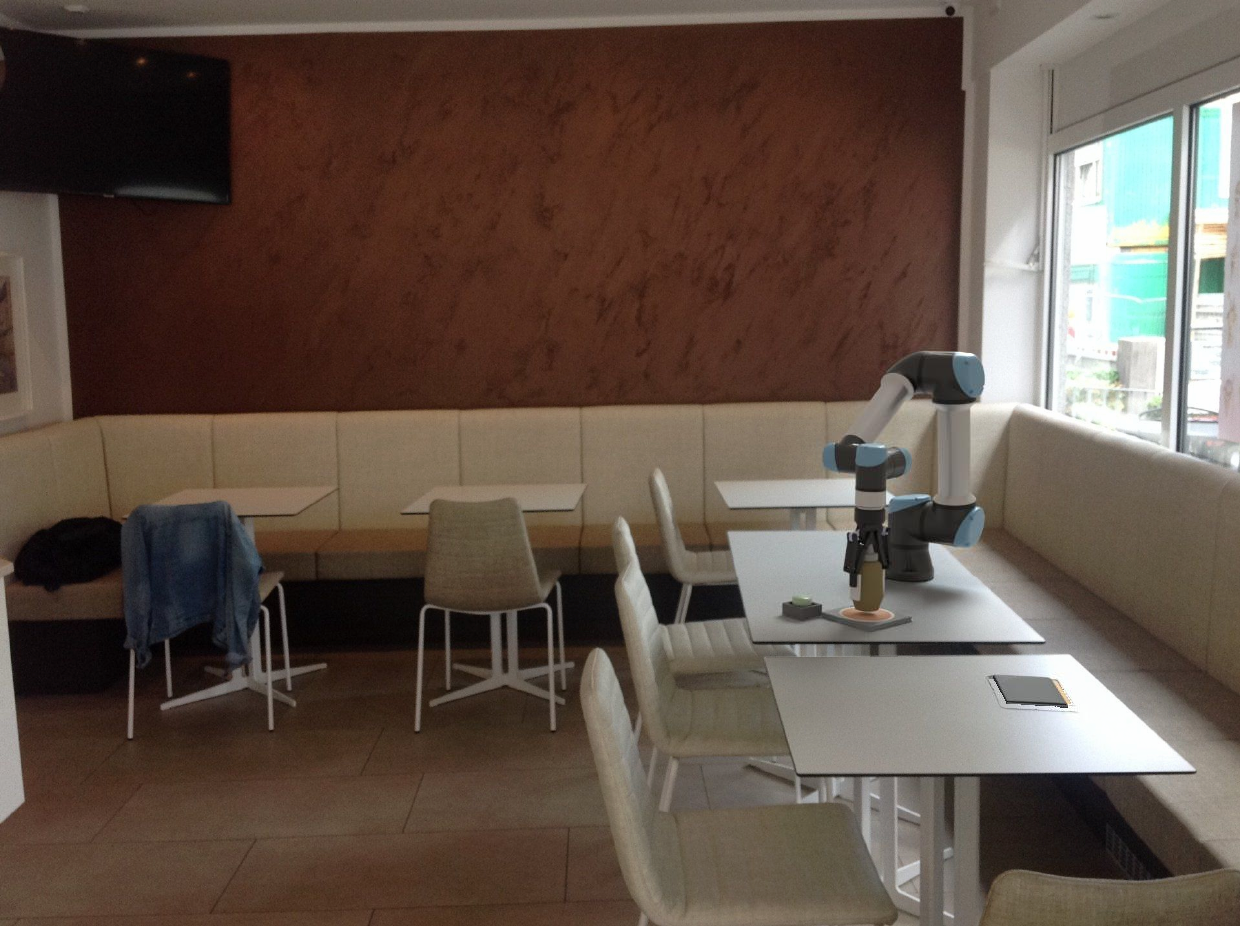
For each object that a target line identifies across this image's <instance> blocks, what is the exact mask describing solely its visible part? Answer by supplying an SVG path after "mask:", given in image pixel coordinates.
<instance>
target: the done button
mask: <svg viewBox="0 0 1240 926" xmlns="http://www.w3.org/2000/svg"><path fill="white" fill-rule="evenodd" d="M791 597H792V598H791V599H792V600H791V601H792V605H795V606H798V607H801V608H804V607H808V606H812V602H813V596H811V595H807V594H796V595H792V596H791Z"/></svg>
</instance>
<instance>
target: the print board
mask: <svg viewBox="0 0 1240 926" xmlns="http://www.w3.org/2000/svg"><path fill="white" fill-rule="evenodd" d="M821 617H822V618H824V619H828V620H831V621H835V622H837V623H841V624H845V625H848V626H850V627H854V628H857V629H861V630H864V631H868V632H874V631H877V630H882V629H885V628H890V627H893V626H899V625H902V624H906V623H909V622H912V618H913V616H912V615H909V614H905V613H904V614H903V613H900V612H897V611H893V610H890V609H886V608H883V607H881V606H880V607H879V610H878V611H874V612H863V611H859V610H856V609H855V607H854V604H852V605H848V606H847V605H846V606H841V607H839V608H835V609H829V610H826V611H822V616H821Z"/></svg>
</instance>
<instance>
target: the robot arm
mask: <svg viewBox="0 0 1240 926" xmlns="http://www.w3.org/2000/svg"><path fill="white" fill-rule="evenodd" d="M985 375H986V374H985V368H984V365H983V363H982V361H981V360H980V358H979V357H978V356H977V355H976V354H974V353H969V352H962V351H937V350H936V351H935V350H934V351H930V350H922V351H916V352H913V353H911V354H909V355H907V356H904V357H903V358H901V359H900V360H898V361H896V363H895V364H893V365H892V366H891V367H889V369H888V370H886V373H885V374H883V377H882V378H881V380H880V387H879V388H878V389H877V391H876V392H875V393H874V395H873V397H872V398H871V399H870V400H869V402H868V403H867V405H866V406H865V407H864V409H863V410H862V412H861V413H860V414H859V416H858V417H857V418H856V420H855V421H854V422H853V424H852V425H851V427H850V428H849V429H848V430H847V432H846V433H845V435H844V437H842V438H841V440H840V441H839V442H838V441H834V442H829V443H827V444H825V446H824V447H823V450H822V452H821V462H822V466H823V467H824V469H826V470H827V471H830V472H834V473H839V474H851V475H855V485H854V487H855V488H854V505H855V507H854V511H853V512H854V516H853V521H854V522H855V523H856V527H855V530H854V531H853V532H849V531H848V532H847V533H846V548H845V554H844V555H845V556H844V561H843V568H842V571H843V572H845V573H847V574H849V579H848V585H849V599H851V600H852V599H853V600H857V601H860V595H861V575H860V574H859V571H860V568H861V564H862V561H863V558H864V555H865V552H866V549H868V548H869V545H871V544H872V545H873V550H874V552H876V553H878V560H877V561H879V562H880V563H881V564H882V578H883V592H884V593H885V583H886V582H885V581H886V580H887V579H890V580H896V581H901V582H902V581H903V582H922V581H929V580H931V579H934V577H935V567H934V565H933V562H932V557H931V554H930V549H929V548H930V547H929V546H930V544H935V545H941V546H949V547H953V548H966V549H967V548H968V549H969V548H971V547H973V546H975V545H976V544H977V542H978V541H979V539H980V538H981V535H982V533H983V529H984V526H985V520H986V519H985V518H986V517H985V512H984V509H983V508H982V507H980V506H977V498H976V496H975V495H974V494H972V493H971V408H972V406H973V405H974V404H976V402H977V397H979V396H981V395H982V394H983V392H984V389H985V387H984V386H985V385H986V384H985V383H986V376H985ZM918 394H919V395H920V394H925V395H931V403H932V405H933V406H935V407H936V409H937V485H938V486H937V493H936V494H935V495H934V496H933V497H931V495H930V494H926V493H925V494H921V493H919V494H918V493H917V494H905V495H898V496H894V497H892V498H891V499H890V500H889V501H888V509H887V510H886V509H885V507H886V506H887V480H891V479H895V478H896V479H897V478H898V479H899V478H901V477H902V476H904V475H906V474H908V472H910V470H911V469H912V464H913V459H912V455H911V453H910V452H909V450H907V449H906V448H904V447H901V446H891V447H887V446H886V445H885V444H882V443H877V441H878V440H879V438H880V437H881V435H882V434H883V432H884V431H885V429H886V428H887V427H888V426H889V424H890V423H891V421H892V420H893V418H894V417H895V416H896V415H897V413H898V411H899V410H900V408H901V407H902V406H903V404H904V403H906V402H909V401H910V400H912V399H913V397H914V396H915V395H918ZM886 511H887V526H885V525H883V524H885V522H886ZM854 568H855V569H854ZM886 578H887V579H886Z"/></svg>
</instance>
